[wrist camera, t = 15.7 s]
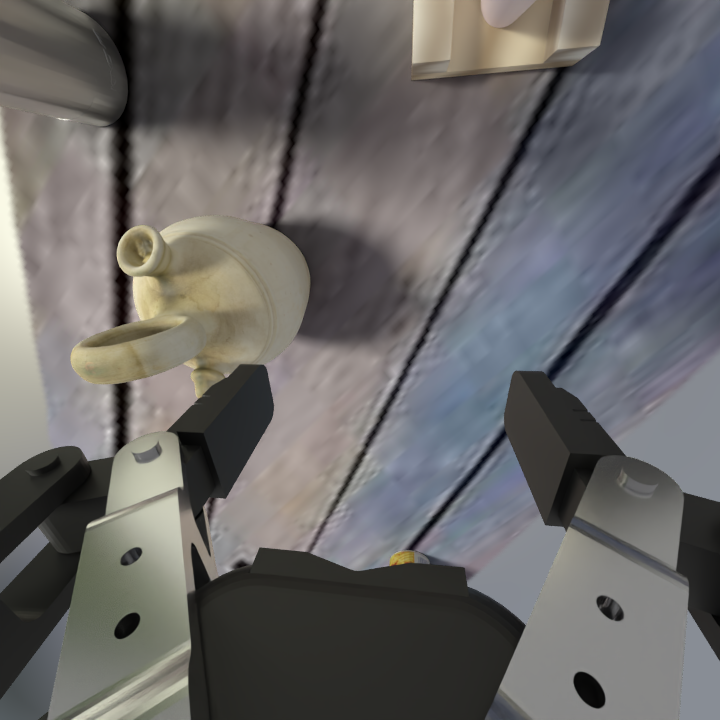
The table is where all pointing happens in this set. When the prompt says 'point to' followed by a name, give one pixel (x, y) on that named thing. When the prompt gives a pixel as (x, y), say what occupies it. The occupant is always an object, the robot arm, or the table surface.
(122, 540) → the robot arm
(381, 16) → the table surface
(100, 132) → the table surface
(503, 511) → the table surface
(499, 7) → the white cup with straw
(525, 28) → the notched board
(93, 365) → the jug
